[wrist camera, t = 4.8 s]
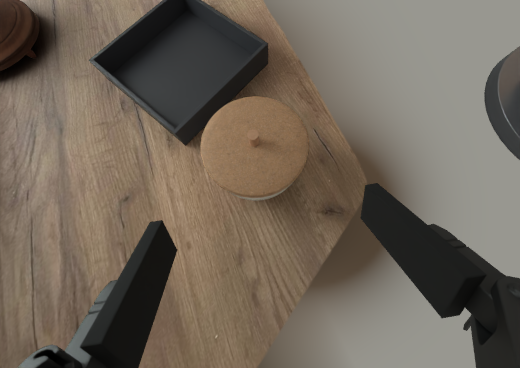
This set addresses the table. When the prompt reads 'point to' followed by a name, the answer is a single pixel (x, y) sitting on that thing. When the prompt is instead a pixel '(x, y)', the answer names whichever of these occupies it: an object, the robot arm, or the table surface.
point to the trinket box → (254, 147)
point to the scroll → (16, 32)
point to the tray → (182, 63)
